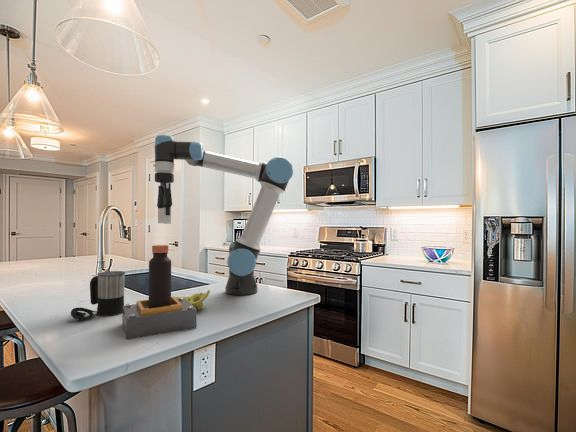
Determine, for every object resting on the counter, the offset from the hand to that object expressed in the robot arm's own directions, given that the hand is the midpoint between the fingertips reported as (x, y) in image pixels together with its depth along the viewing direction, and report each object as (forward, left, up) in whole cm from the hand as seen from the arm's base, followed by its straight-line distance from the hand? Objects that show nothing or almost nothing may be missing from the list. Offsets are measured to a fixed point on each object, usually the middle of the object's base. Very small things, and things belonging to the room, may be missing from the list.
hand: (164, 223), depth 136 cm
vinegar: (+7, +32, -27) cm, 43 cm away
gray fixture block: (+7, +32, -33) cm, 46 cm away
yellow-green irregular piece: (-5, +15, -33) cm, 37 cm away
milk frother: (+24, +9, -33) cm, 42 cm away
